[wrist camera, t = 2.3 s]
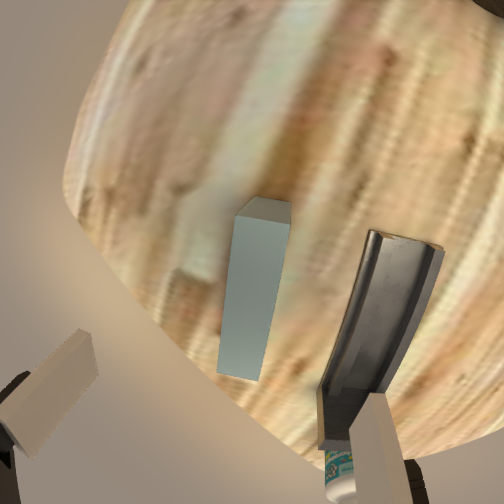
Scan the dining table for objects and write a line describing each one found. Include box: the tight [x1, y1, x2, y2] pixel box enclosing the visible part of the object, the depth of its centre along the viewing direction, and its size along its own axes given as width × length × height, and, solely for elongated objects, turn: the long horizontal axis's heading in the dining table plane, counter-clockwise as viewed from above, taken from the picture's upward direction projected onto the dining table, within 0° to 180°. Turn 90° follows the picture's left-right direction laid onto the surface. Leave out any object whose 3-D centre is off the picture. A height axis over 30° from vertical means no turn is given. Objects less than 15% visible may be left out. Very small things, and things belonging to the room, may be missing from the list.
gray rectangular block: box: [217, 196, 291, 381], centre depth 23 cm, size 12×3×9 cm, turn 172°
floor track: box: [317, 230, 445, 451], centre depth 23 cm, size 20×8×9 cm, turn 172°
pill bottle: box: [325, 450, 357, 504], centre depth 26 cm, size 8×7×14 cm
